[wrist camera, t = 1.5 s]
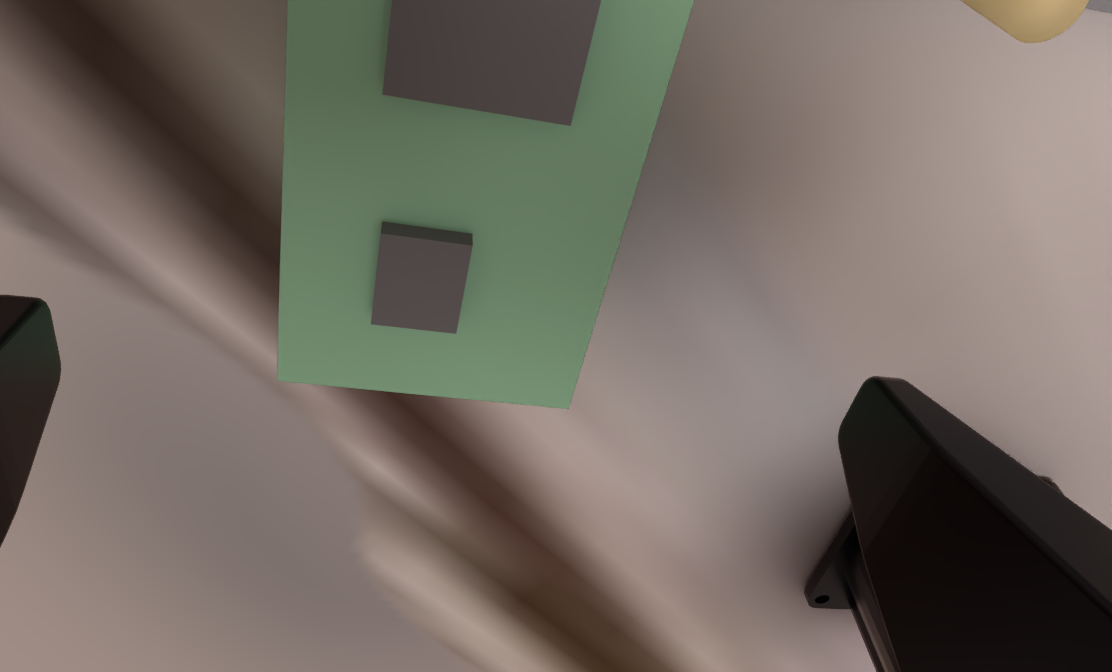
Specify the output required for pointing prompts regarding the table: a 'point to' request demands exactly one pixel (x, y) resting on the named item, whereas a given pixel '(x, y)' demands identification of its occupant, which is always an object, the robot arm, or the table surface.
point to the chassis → (1035, 15)
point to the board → (460, 187)
